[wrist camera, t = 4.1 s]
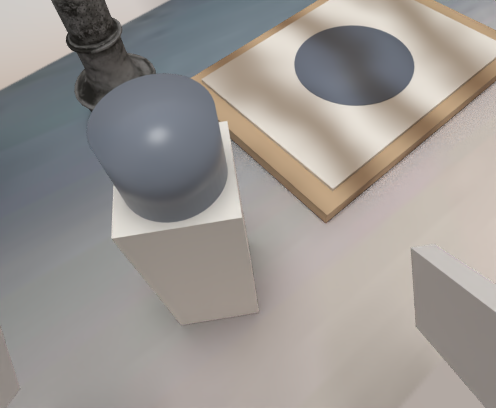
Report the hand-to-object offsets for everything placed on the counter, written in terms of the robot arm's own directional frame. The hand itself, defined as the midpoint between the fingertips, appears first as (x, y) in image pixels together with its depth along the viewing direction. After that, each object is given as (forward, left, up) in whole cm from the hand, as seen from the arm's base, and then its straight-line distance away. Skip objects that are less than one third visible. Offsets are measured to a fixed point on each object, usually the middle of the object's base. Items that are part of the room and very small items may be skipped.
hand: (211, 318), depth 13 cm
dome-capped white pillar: (-2, +5, -10) cm, 12 cm away
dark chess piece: (-11, +18, -11) cm, 24 cm away
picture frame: (+6, +23, -10) cm, 26 cm away
